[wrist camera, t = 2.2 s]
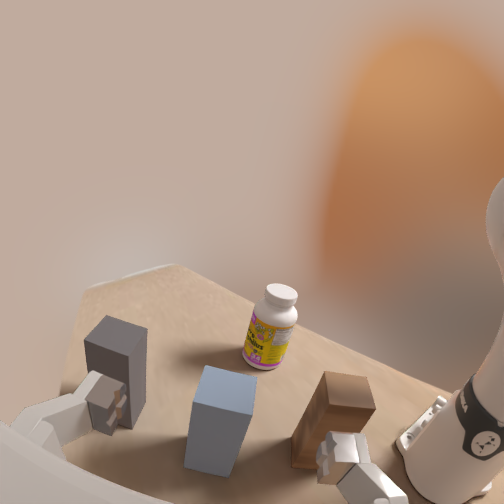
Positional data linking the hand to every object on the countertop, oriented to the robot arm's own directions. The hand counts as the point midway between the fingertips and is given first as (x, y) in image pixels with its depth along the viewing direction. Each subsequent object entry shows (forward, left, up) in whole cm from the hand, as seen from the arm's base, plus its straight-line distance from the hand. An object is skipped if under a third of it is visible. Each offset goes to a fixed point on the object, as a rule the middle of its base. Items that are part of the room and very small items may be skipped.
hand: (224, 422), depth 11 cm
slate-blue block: (-9, -8, -22) cm, 25 cm away
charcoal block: (-4, -19, -22) cm, 29 cm away
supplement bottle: (-28, -18, -22) cm, 40 cm away
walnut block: (-19, -1, -22) cm, 29 cm away
